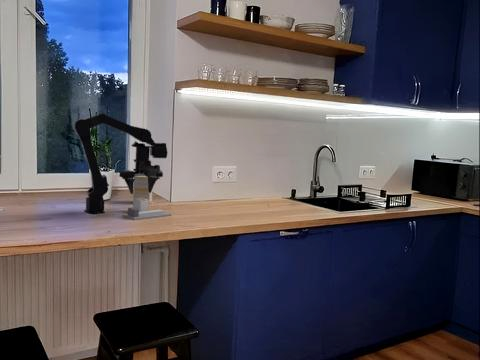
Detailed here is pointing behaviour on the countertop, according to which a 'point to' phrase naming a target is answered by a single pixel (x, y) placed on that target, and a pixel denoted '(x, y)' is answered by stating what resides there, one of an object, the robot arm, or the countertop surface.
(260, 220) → the countertop surface
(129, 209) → the rail board
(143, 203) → the module
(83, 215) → the countertop surface
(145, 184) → the supplement box
